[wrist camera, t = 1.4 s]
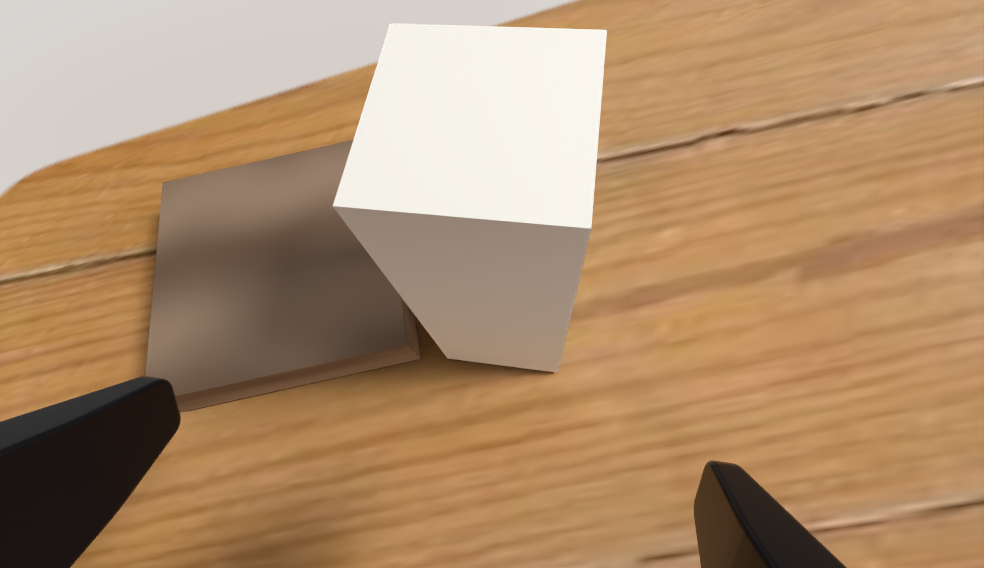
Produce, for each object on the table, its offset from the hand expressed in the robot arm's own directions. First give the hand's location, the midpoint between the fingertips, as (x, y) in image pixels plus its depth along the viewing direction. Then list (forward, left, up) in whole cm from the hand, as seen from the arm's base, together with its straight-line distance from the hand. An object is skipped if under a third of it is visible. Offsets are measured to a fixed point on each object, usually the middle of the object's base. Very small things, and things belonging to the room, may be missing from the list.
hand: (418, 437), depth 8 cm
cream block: (+6, +3, -13) cm, 14 cm away
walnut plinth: (+2, +13, -13) cm, 18 cm away
